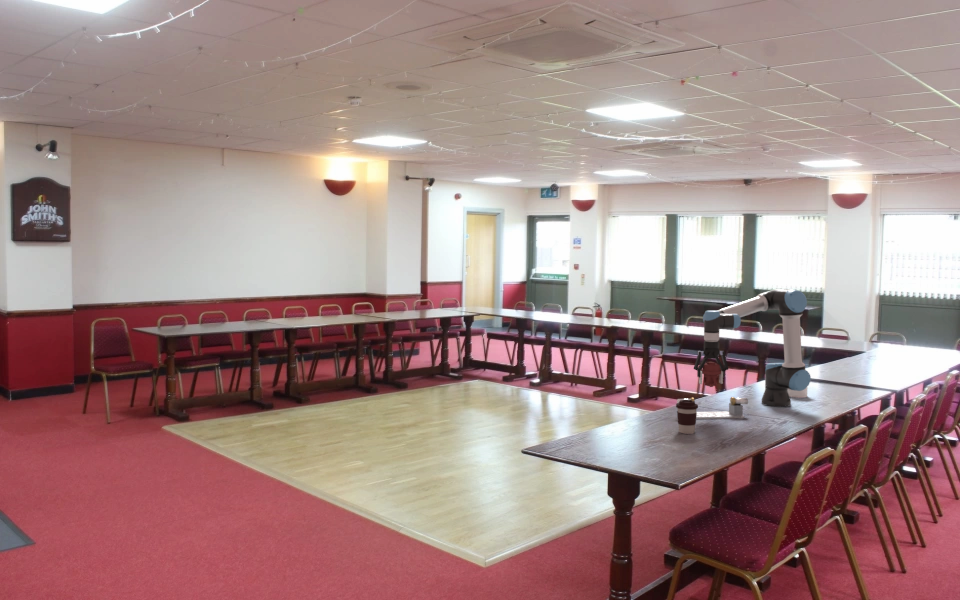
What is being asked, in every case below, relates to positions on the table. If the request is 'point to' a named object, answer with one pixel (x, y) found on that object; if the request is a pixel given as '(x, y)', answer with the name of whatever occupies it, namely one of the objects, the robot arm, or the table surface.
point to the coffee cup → (686, 416)
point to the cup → (797, 393)
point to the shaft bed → (733, 412)
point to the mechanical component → (711, 373)
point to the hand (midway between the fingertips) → (710, 383)
